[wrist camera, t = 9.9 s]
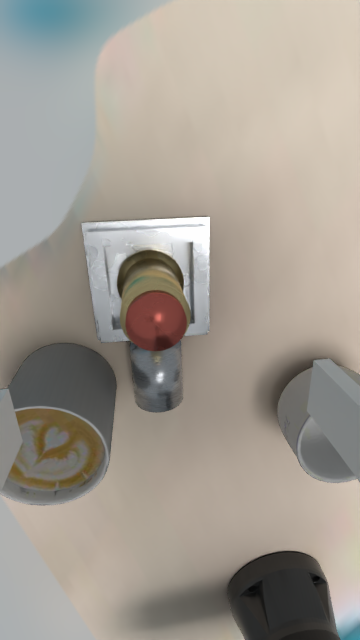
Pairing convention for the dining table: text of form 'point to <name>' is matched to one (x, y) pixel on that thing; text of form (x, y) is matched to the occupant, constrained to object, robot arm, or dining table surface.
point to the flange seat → (103, 266)
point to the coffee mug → (61, 424)
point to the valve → (152, 300)
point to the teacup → (310, 432)
